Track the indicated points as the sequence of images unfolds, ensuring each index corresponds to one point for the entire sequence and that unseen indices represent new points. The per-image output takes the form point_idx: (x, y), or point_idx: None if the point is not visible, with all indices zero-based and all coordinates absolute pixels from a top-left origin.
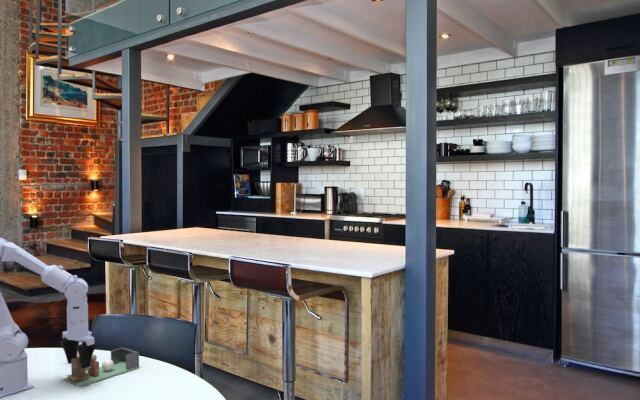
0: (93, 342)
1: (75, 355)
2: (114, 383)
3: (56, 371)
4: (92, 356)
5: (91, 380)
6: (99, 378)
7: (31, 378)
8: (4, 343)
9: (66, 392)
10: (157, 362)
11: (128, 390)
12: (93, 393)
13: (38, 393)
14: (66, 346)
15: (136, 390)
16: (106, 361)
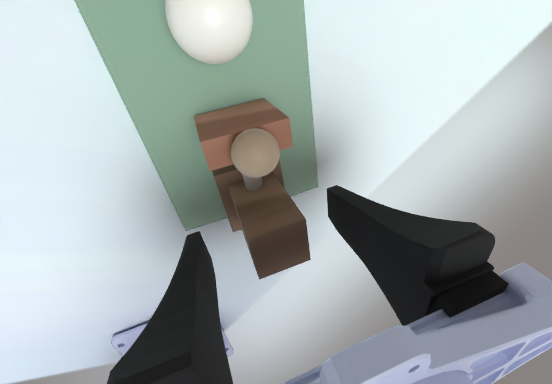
0: (537, 278)
1: (201, 261)
2: (381, 66)
3: (6, 246)
4: (273, 167)
5: (296, 144)
6: (300, 109)
7: (78, 317)
8: None
9: (321, 224)
10: None
11: (479, 53)
12: (395, 161)
13: (267, 284)
14: (227, 370)
15: (506, 27)
16: (233, 37)
